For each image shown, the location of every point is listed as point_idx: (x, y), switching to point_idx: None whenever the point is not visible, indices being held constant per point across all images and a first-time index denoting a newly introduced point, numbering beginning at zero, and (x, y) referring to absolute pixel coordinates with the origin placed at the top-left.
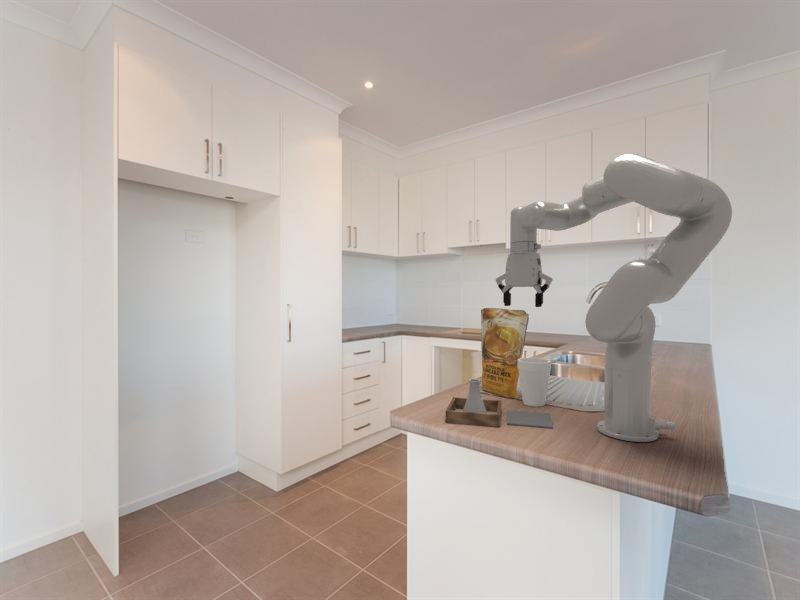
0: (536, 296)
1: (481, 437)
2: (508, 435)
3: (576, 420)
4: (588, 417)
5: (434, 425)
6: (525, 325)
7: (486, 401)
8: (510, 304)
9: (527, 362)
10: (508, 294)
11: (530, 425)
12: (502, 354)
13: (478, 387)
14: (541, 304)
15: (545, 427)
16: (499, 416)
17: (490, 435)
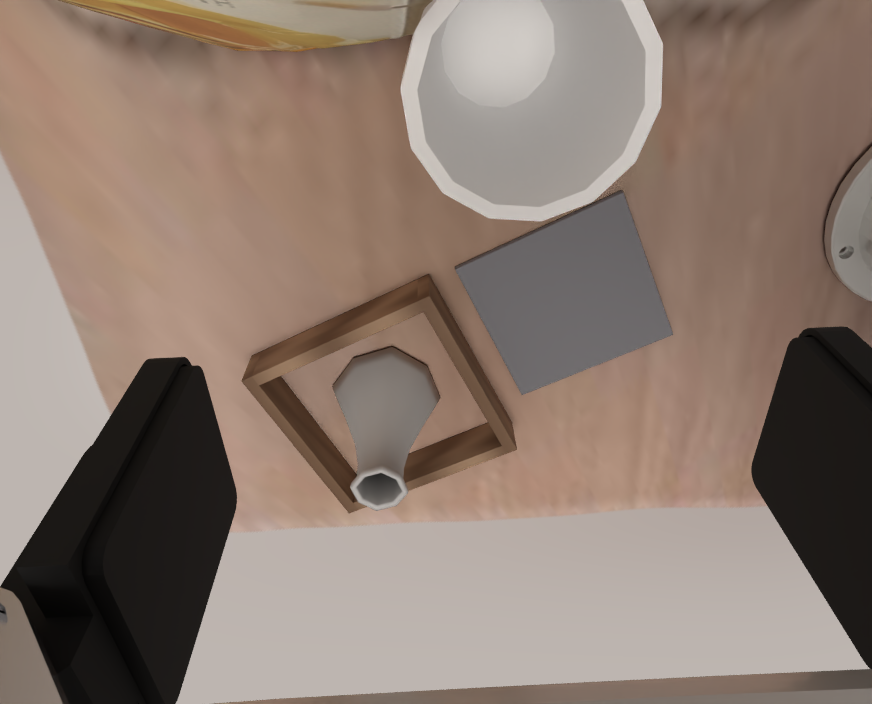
0: (867, 630)
1: (506, 507)
2: (563, 457)
3: (739, 184)
4: (787, 104)
5: (345, 516)
6: (397, 6)
7: (376, 329)
8: (196, 379)
9: (524, 219)
10: (156, 634)
11: (597, 363)
12: (198, 35)
13: (403, 473)
14: (860, 347)
15: (646, 343)
16: (515, 446)
17: (519, 485)
